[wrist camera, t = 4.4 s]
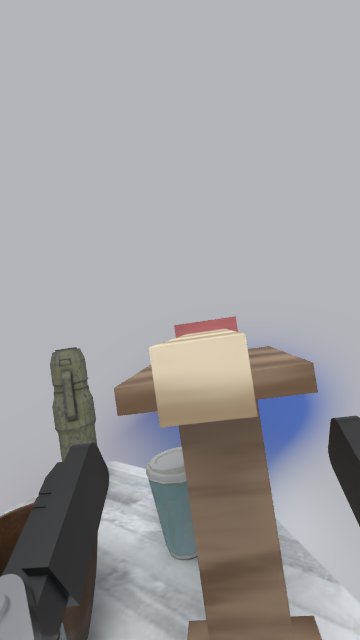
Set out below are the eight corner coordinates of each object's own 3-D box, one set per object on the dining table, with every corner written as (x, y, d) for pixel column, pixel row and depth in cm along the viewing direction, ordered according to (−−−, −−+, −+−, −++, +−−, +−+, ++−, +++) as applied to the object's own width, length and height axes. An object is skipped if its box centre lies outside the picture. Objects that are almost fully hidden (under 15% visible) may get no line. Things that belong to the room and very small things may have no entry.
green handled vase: (65, 523, 60) (43, 352, 61) (65, 496, 71) (46, 351, 72) (109, 508, 64) (87, 345, 65) (103, 484, 75) (84, 345, 76)
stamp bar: (292, 412, 11) (274, 301, 11) (129, 430, 11) (114, 326, 11) (237, 352, 33) (232, 317, 34) (184, 360, 34) (179, 325, 34)
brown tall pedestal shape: (392, 859, 19) (312, 362, 20) (177, 851, 20) (113, 388, 22) (310, 616, 35) (268, 346, 36) (192, 621, 36) (155, 361, 37)
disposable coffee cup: (144, 563, 47) (131, 467, 47) (174, 519, 57) (162, 440, 57) (207, 577, 43) (192, 471, 43) (227, 527, 52) (215, 441, 53)
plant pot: (124, 610, 39) (108, 488, 40) (101, 780, 24) (75, 581, 25) (9, 633, 38) (-7, 508, 39) (-90, 824, 24) (-112, 617, 24)
